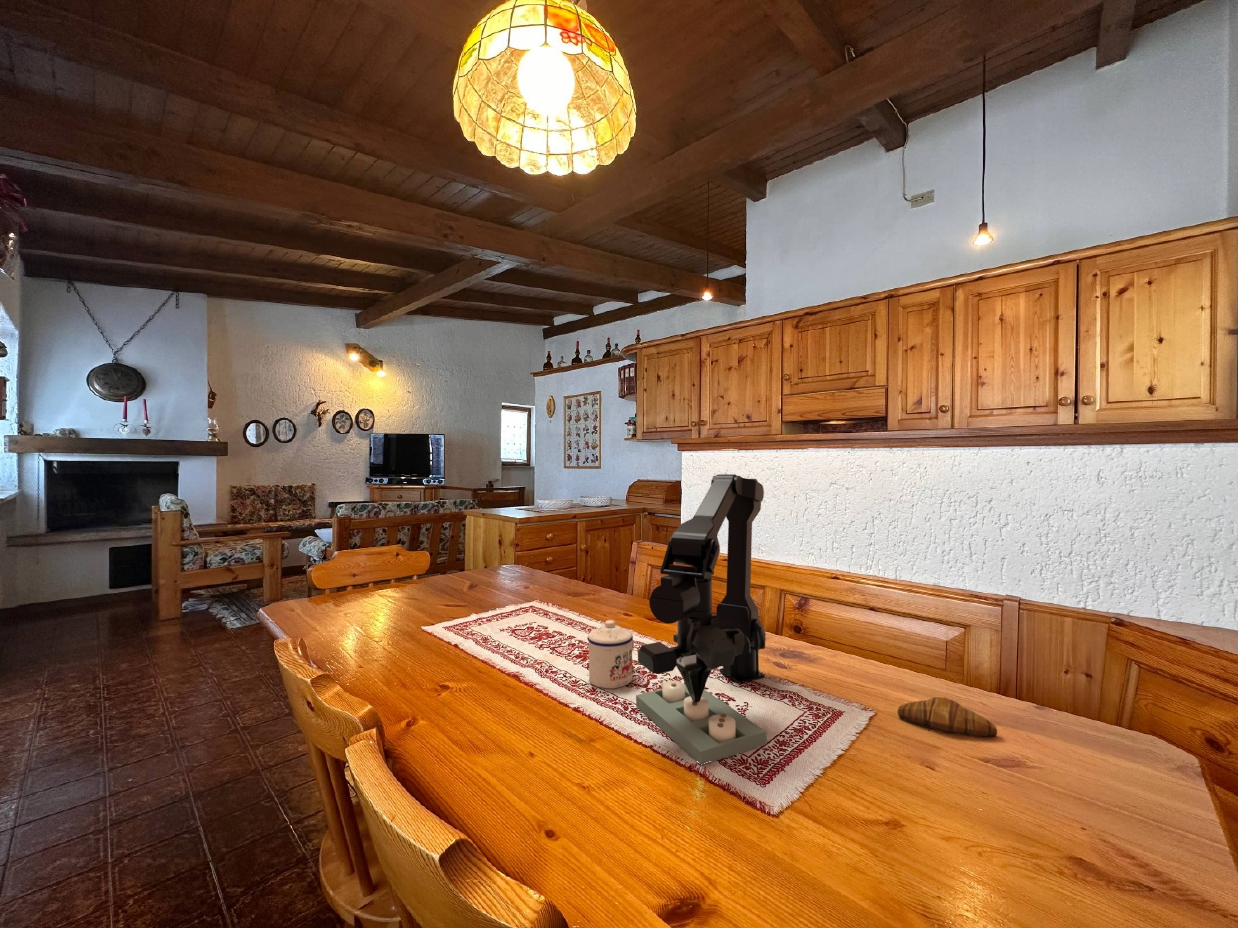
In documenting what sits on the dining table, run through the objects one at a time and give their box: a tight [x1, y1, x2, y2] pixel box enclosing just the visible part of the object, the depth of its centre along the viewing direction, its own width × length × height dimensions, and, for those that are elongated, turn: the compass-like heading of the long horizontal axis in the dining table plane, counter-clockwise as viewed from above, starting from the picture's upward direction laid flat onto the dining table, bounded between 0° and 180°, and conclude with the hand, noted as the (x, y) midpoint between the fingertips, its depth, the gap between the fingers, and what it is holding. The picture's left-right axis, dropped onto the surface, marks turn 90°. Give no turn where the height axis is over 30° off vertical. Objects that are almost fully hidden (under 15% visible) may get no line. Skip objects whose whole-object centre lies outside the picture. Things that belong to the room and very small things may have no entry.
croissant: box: [897, 696, 998, 739], centre depth 83 cm, size 14×7×5 cm, turn 60°
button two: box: [684, 696, 709, 722], centre depth 85 cm, size 4×4×3 cm
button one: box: [661, 680, 685, 704], centre depth 91 cm, size 4×4×3 cm
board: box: [635, 685, 767, 765], centre depth 85 cm, size 12×20×2 cm, turn 26°
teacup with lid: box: [586, 619, 635, 689], centre depth 104 cm, size 12×9×12 cm
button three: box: [709, 713, 736, 744], centre depth 79 cm, size 4×4×3 cm
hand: (695, 701), depth 85 cm, fingers closed
